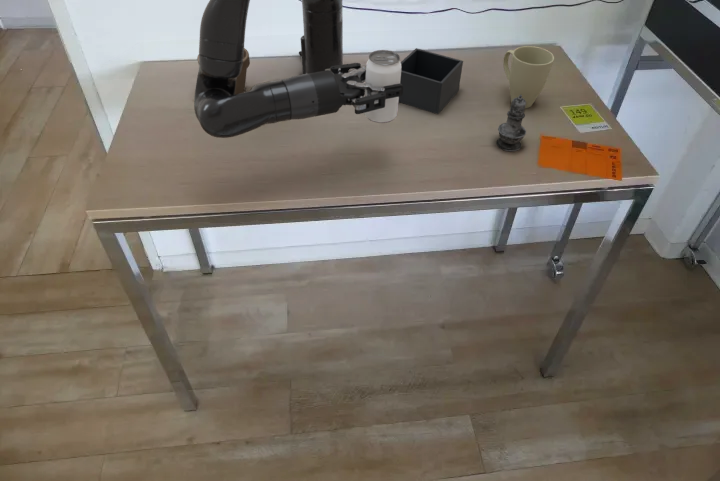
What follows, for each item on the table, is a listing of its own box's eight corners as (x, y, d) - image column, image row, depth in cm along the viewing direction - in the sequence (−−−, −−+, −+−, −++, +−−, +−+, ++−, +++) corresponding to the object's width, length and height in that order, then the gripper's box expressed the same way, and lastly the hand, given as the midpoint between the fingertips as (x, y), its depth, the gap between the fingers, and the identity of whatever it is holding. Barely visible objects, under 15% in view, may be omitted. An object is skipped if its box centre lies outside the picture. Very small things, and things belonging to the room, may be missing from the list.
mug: (543, 95, 135) (556, 47, 127) (538, 116, 129) (552, 67, 120) (498, 86, 138) (507, 40, 129) (491, 107, 131) (501, 59, 123)
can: (396, 125, 107) (402, 66, 98) (362, 122, 107) (365, 64, 99) (397, 107, 111) (402, 49, 103) (365, 104, 112) (367, 47, 103)
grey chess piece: (491, 136, 123) (502, 87, 114) (518, 135, 123) (530, 86, 115) (498, 152, 118) (510, 102, 110) (526, 151, 119) (539, 101, 110)
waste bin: (390, 99, 133) (392, 69, 127) (413, 77, 140) (416, 48, 135) (438, 114, 129) (442, 83, 123) (458, 90, 136) (463, 60, 131)
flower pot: (195, 100, 131) (186, 60, 124) (221, 78, 138) (214, 39, 131) (238, 111, 128) (231, 71, 121) (262, 88, 136) (257, 48, 128)
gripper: (322, 96, 93) (413, 80, 98) (296, 57, 102) (379, 44, 107) (323, 135, 98) (409, 117, 103) (298, 94, 107) (377, 80, 112)
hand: (393, 80), depth 105 cm, fingers closed on can, 6 cm apart
